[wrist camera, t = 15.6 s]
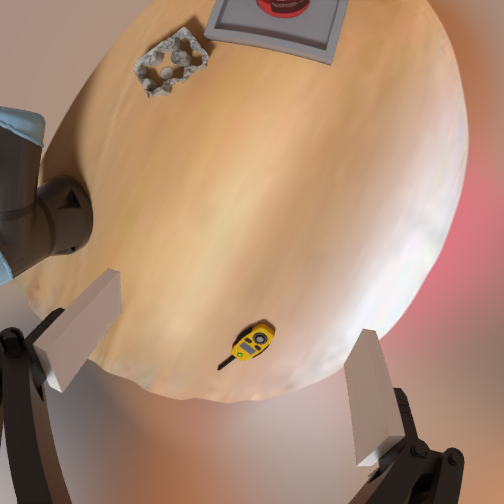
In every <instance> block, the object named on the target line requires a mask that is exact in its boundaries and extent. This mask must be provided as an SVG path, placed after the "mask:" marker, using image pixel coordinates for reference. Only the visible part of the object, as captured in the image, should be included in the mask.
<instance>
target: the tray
mask: <svg viewBox="0 0 504 504" xmlns="http://www.w3.org/2000/svg"><path fill="white" fill-rule="evenodd" d="M348 1H349V0H310V4H309V6H308V8H307V9H306V10H305V11H304V12H303V13H302V14H300V15H298V16H296V17H293V18H277V17H273V16H271V15H269V14H267V13H266V12H264V11H263V10H262V9H261V8H260V7H259V6H258V5H257V2H256V0H216V2H215V4H214V7H213V10H212V12H211V15H210V18H209V20H208V23H207V26H206V29H205V32H204V36H205V37H206V38H207V39H208V40H214V41H222V42H229V43H236V44H242V45H248V46H254V47H259V48H264V49H269V50H274V51H278V52H283V53H287V54H291V55H295V56H299V57H303V58H307V59H310V60H314V61H317V62H321V63H324V64H327V65H330V66H331V63H332V61H333V57H334V53H335V50H336V46H337V42H338V39H339V35H340V31H341V27H342V24H343V20H344V16H345V12H346V8H347V5H348Z"/></svg>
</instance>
